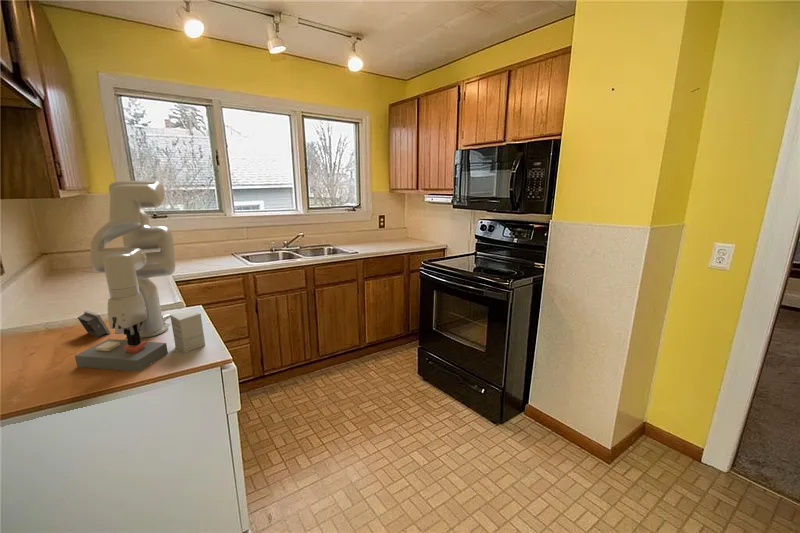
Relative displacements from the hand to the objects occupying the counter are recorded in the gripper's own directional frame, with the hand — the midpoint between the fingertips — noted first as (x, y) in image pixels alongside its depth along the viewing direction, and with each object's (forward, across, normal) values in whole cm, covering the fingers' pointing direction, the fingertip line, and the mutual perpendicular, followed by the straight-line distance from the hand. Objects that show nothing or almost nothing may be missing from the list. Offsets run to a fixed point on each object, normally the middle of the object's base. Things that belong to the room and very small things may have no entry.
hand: (134, 344), depth 116 cm
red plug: (+4, 0, 0) cm, 4 cm away
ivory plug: (+5, 0, -10) cm, 11 cm away
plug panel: (+6, 0, -5) cm, 8 cm away
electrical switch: (+6, -16, -32) cm, 36 cm away
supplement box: (+6, -12, +10) cm, 17 cm away
